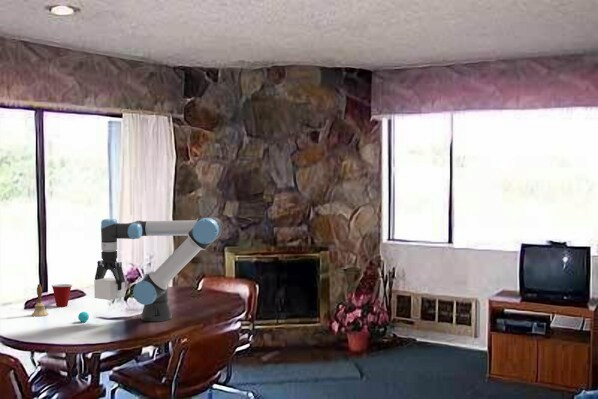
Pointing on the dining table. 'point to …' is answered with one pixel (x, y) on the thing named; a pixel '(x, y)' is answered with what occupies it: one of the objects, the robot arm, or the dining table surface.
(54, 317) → the dining table surface
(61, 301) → the plastic cup
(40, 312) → the hand bell
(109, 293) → the white box
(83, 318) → the ball
